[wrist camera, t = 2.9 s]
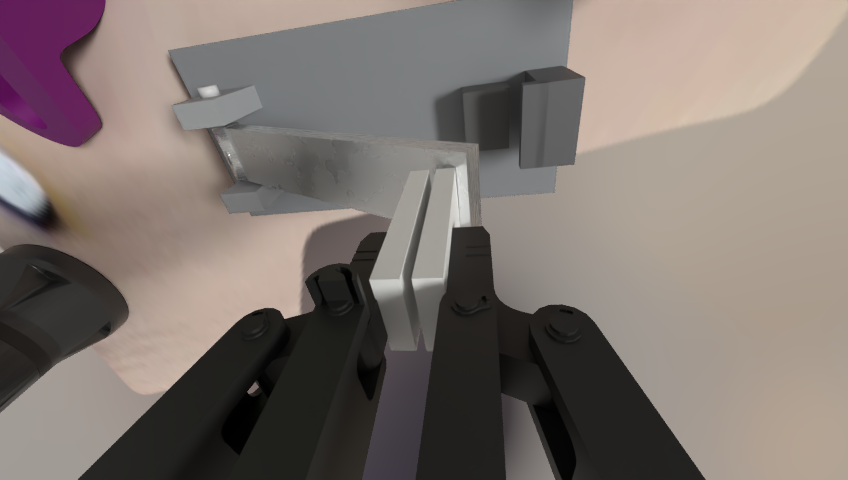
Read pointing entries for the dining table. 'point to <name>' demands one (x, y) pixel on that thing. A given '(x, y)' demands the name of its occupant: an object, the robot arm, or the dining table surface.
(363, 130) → the latch base
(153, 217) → the dining table surface
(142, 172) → the dining table surface
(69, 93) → the mounting bracket
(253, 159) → the grey long flat bar
